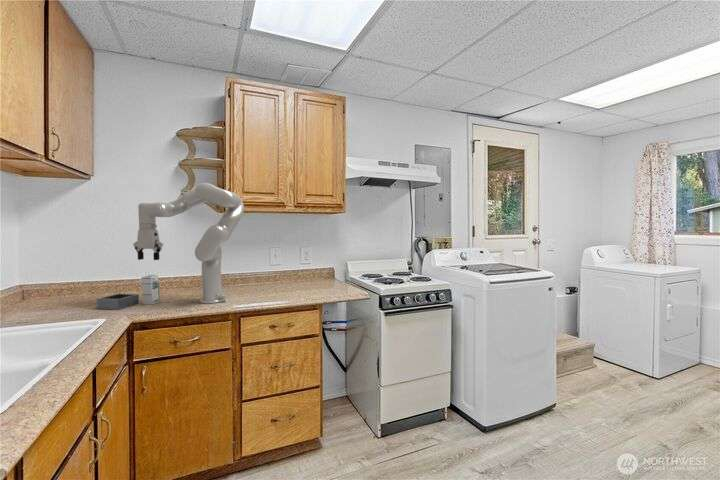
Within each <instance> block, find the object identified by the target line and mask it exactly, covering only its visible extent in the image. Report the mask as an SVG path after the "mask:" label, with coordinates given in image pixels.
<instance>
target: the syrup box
mask: <svg viewBox="0 0 720 480" xmlns="http://www.w3.org/2000/svg"><path fill="white" fill-rule="evenodd" d="M140 279H141V280H140V281H141V294H142V295H141V298H142V305H154V304H157V303H160V301H161V299H160V284H159V283H160V282H159V275H158V274H148V275H145V276H141V277H140Z"/></svg>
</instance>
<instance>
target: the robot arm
mask: <svg viewBox="0 0 720 480" xmlns="http://www.w3.org/2000/svg"><path fill="white" fill-rule="evenodd" d="M208 202H209V203H210V204H211V203H212V204H213V205H217V206H219V207H222V208H226V211H225V212H224V213H223V214H222V216H221V218H220V219H219V221H218V222H217V223H216V224H213V225H211V226H209V227H208V228H207V229H206V231H205V232H204V233H203V235H202V237H201V239H200V240H199V242H198V243H197V245H196V246H195V249H194V255H195V258H196V259H197V260H198V261H200V262H201V292H202V298H200V299H199V303H200V304H216V303H221V302H224V301H226V299H228V297H229V294H228V293H227V294H226V293H224V291H223V290H222V248H221V245H222V243H223V244H224V243H225V242H227V241H228V240H229V239H230V238H231V236H232V234H233V233H234V230H235V229H236V227H237V225H238V224H239V222H240V220H241V218H242V217H243V214H244V212H245V211H244V210H245V205H244V202H243V200H242V198H241V197H240V196H239V194H237V193H236V192H233V191H228V190H226V189H223V188H220V187H218V186H216V185H214V184H212V183H208V182H201V183H199V184H197V185H196V186H195V188H192V189H190V190H187V191H185V192H183V193H182V196H181V197H179V198H177V199H176V200H173V201H170V202H153V203H151V202H141V203H139V204H138V206H137V207H138V210H137V211H138V231H137V236H136V237H137V239H136V242H134V243H133V244H132V245H133V247H134V249H135V250H136V252H137V260H144V258H145V257H144V249H146V250H147V249H149V250H151V249H152V250H153V261H159V260H160V253H161V252H162V249H163V247H164V243H162V242H161V241H160V235H159V231H158V229H157V227H158V225H157V222H156V221H157V220H156V217H157V218H172V217H175V216H177V215H180V214H182V213H185V212H187V211H188V210H190V209H192V208H195V207H197V206H200V205H202V204H205V203H208Z"/></svg>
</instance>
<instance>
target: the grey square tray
mask: <svg viewBox="0 0 720 480" xmlns="http://www.w3.org/2000/svg"><path fill="white" fill-rule="evenodd" d="M139 304H140V296H139V294H137V293H136V294H135V293H115V294H112V295H111V294H110V295H107V296H104V297H98V298H96V309H97V310H111V311H112V310H114V311H115V310H117V311H119V310H122V309H123V310H124V309H125V308H129V307H133V306H136V305H139Z"/></svg>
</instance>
